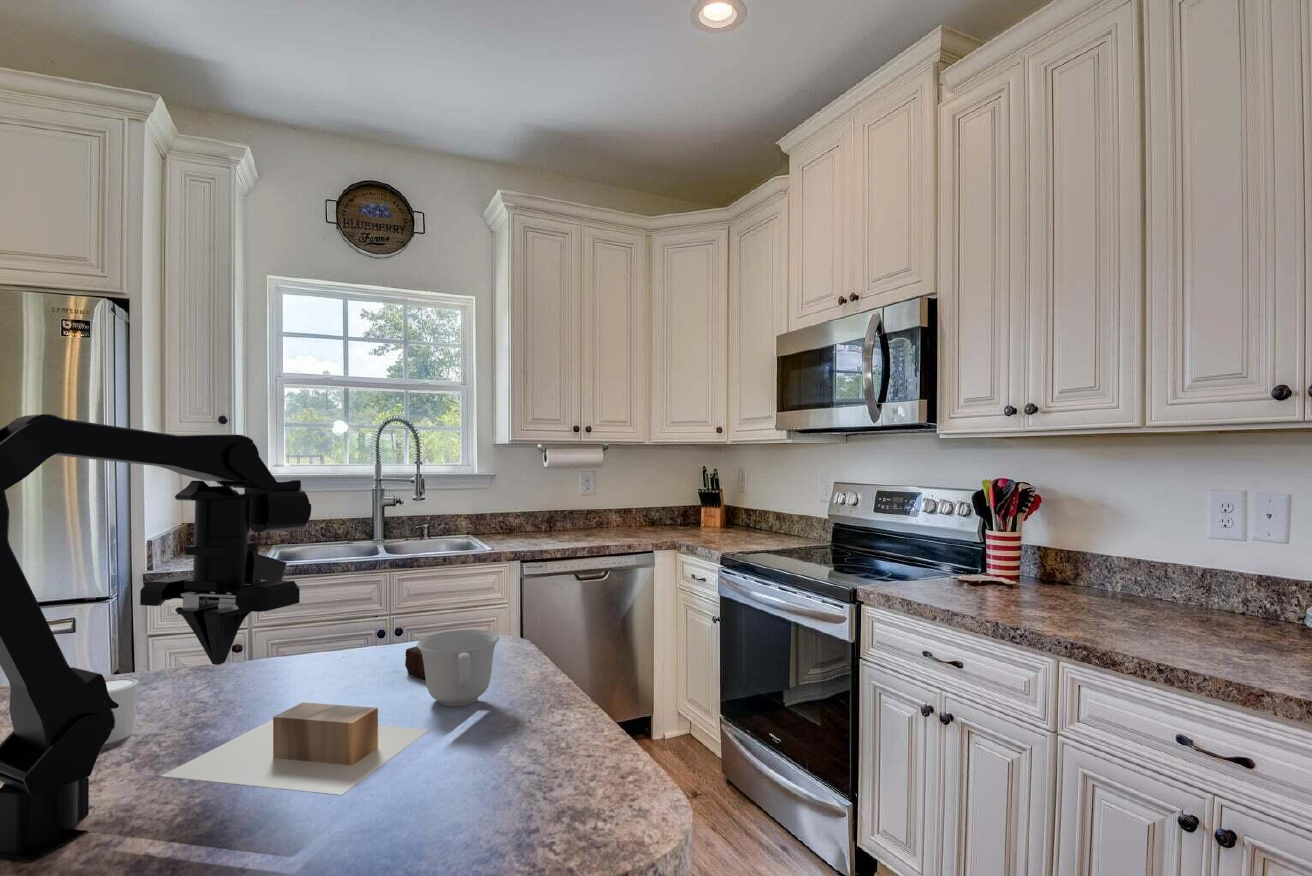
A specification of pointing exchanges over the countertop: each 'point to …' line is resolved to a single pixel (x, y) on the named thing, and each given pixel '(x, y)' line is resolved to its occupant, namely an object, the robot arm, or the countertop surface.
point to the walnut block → (325, 733)
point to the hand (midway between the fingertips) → (218, 663)
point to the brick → (415, 663)
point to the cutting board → (290, 763)
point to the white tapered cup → (123, 707)
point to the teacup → (458, 664)
